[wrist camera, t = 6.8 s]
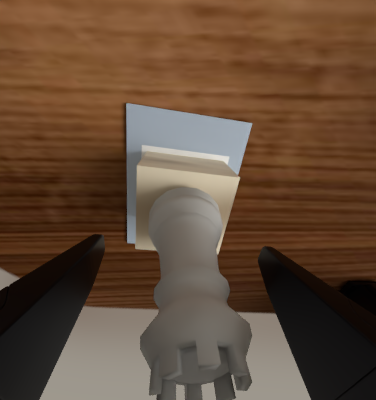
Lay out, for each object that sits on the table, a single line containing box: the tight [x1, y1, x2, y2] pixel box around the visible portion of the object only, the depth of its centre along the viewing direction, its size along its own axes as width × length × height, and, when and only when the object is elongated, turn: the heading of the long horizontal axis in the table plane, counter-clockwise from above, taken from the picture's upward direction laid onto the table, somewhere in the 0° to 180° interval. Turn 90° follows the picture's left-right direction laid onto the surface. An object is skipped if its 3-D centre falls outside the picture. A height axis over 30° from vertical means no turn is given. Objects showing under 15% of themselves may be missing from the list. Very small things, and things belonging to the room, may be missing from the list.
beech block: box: [135, 151, 240, 254], centre depth 13 cm, size 6×6×4 cm
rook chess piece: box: [140, 187, 252, 400], centre depth 8 cm, size 4×4×8 cm
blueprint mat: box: [126, 103, 252, 243], centre depth 15 cm, size 12×9×1 cm
